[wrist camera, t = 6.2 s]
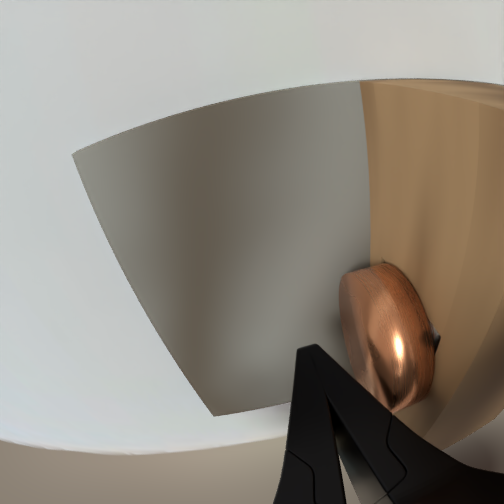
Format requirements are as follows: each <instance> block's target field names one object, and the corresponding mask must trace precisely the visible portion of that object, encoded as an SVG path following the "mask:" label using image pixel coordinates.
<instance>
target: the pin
mask: <svg viewBox="0 0 504 504" xmlns="http://www.w3.org/2000/svg"><path fill="white" fill-rule="evenodd" d="M339 310H340V318H341V324H342V330H343V335H344V340H345V344H346V348H347V352H348V356H349V359H350V363H351V366H352V369H353V372H354V375H355V378H356V380H357V381H358V382H359V383H360V384H361V385H362V386H363V387H364V388H365V389H366V390H367V391H369V392H370V393H371V394H372V395H373V396H374V397H375V398H376V399H377V400H378V401H379V402H381V403H382V404H383V405H384V406H385V407H386V408H387V409H388V410H389V411H390V412H392V413H395V412H397V411H400V410H402V409H405V408H407V407H409V406H412V405H414V404H416V403H419V402H421V401H423V400H424V399H425V398H426V396H427V395H428V393H429V391H430V389H431V386H432V382H433V376H434V356H435V353H436V351H437V348H438V345H439V343H440V340H441V336H440V335H439V333H438V332H437V330H436V329H435V328H434V326H433V325H432V323H431V322H430V320H429V319H428V317H427V316H426V315H425V312H424V309H423V307H422V304H421V302H420V300H419V298H418V296H417V294H416V292H415V291H414V289H413V287H412V286H411V284H410V283H409V281H408V280H407V279H406V277H405V276H404V275H403V274H402V273H401V272H400V271H399V270H398V269H397V268H395V267H394V266H392V265H390V264H387V263H382V264H378V265H375V266H371V267H368V268H364V269H361V270H357V271H354V272H350V273H346V274H344V275H343V276H342V278H341V280H340V284H339Z"/></svg>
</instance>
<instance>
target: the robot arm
mask: <svg viewBox="0 0 504 504" xmlns="http://www.w3.org/2000/svg"><path fill="white" fill-rule="evenodd" d="M338 454H339V455H338ZM339 456H340V458H341V460H342V463H343V465H344V467H345V469H346V472H347V474H348V476H349V478H350V481H351V483H352V485H353V487H354V489H355V492H356V494H357V496H358V498H359V501H360V503H361V504H504V474H503V473H498V472H492V471H487V470H482V469H477V468H473V467H470V466H467V465H465V464H463V463H461V462H459V461H457V460H456V459H454V458H452V457H450V456H449V455H447V454H446V453H444V452H443V451H441V450H440V449H438V448H437V447H435V446H434V445H432V444H431V443H429V442H427V441H426V440H425V439H423V438H422V437H420V436H419V435H418V434H416V433H415V432H414V431H412V430H411V429H410V428H409V427H408V426H406V425H405V424H404V423H403V422H402V421H401V420H399V419H398V418H397V417H396V416H395V415H392V412H390V411H389V410H388V409H387V408H386V407H385V406H384V405H383V404H382V403H381V402H379V401H378V400H377V399H376V398H375V397H374V396H373V395H372V394H371V393H370V392H369V391H367V390H366V389H365V388H364V387H363V386H362V385H361V384H360V383H359V382H358V381H357V380H356V379H354V378H353V377H352V376H351V375H350V374H349V373H348V372H347V371H346V370H345V369H344V368H343V367H342V366H340V365H339V364H338V363H337V362H336V361H335V360H334V359H333V358H332V357H331V356H330V355H329V354H328V353H327V352H326V351H324V350H323V349H322V348H321V347H320V346H319V345H318V344H316V343H314V344H311V345H307V346H304V347H300V348H298V349H297V351H296V361H295V371H294V381H293V391H292V400H291V409H290V417H289V425H288V433H287V441H286V451H285V455H284V462H283V468H282V473H281V478H280V482H279V485H278V489H277V492H276V496H275V499H274V502H273V504H346V497H345V491H344V484H343V479H342V472H341V466H340V461H339Z"/></svg>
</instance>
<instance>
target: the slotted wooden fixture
mask: <svg viewBox="0 0 504 504" xmlns="http://www.w3.org/2000/svg"><path fill="white" fill-rule="evenodd" d="M72 156H73V159H74V162H75V164H76V167H77V170H78V172H79V175H80V177H81V180H82V183H83V185H84V188H85V190H86V192H87V195H88V197H89V200H90V202H91V204H92V207H93V209H94V211H95V214H96V216H97V218H98V220H99V223H100V225H101V227H102V229H103V231H104V233H105V236H106V238H107V240H108V242H109V244H110V246H111V248H112V250H113V252H114V254H115V256H116V258H117V260H118V262H119V264H120V266H121V268H122V270H123V272H124V274H125V276H126V278H127V280H128V282H129V283H130V285H131V287H132V289H133V291H134V293H135V295H136V296H137V298H138V300H139V302H140V304H141V305H142V307H143V309H144V311H145V312H146V314H147V316H148V318H149V319H150V321H151V323H152V324H153V326H154V328H155V329H156V331H157V333H158V334H159V336H160V338H161V339H162V341H163V343H164V344H165V346H166V347H167V349H168V351H169V352H170V354H171V355H172V357H173V358H174V360H175V362H176V363H177V365H178V366H179V368H180V369H181V371H182V372H183V374H184V375H185V377H186V378H187V380H188V381H189V383H190V384H191V385H192V387H193V388H194V390H195V391H196V393H197V394H198V396H199V397H200V398H201V400H202V401H203V403H204V404H205V405H206V407H207V408H208V409H209V411H210V412H211V413H212V415H213V416H221V415H228V414H234V413H239V412H245V411H250V410H255V409H260V408H265V407H270V406H275V405H279V404H284V403H288V402H291V400H292V391H293V381H294V371H295V361H296V351H297V349H298V348H300V347H304V346H307V345H311V344H314V343H316V344H318V345H319V346H320V347H321V348H322V349H323V350H324V351H326V352H327V353H328V354H329V355H330V356H331V357H332V358H333V359H334V360H335V361H336V362H337V363H338V364H339V365H340V366H342V367H343V368H344V369H345V370H346V371H347V372H348V373H349V374H350V375H351V376H352V377H353V378H354V379H356V378H355V375H354V372H353V369H352V366H351V363H350V359H349V356H348V352H347V348H346V344H345V340H344V335H343V330H342V324H341V318H340V310H339V284H340V280H341V278H342V276H343V275H344V274H346V273H350V272H354V271H357V270H361V269H364V268H368V267H371V266H375V265H378V264H382V263H387V264H390V265H392V266H394V267H395V268H397V269H398V270H399V271H400V272H401V273H402V274H403V275H404V276H405V277H406V279H407V280H408V281H409V283H410V284H411V286H412V287H413V289H414V291H415V292H416V294H417V296H418V298H419V300H420V302H421V304H422V307H423V309H424V312H425V315H426V316H427V317H428V319H429V320H430V322H431V323H432V325H433V326H434V328H435V329H436V330H437V332H438V333H439V335H440V336H441V340H440V343H439V345H438V348H437V351H436V353H435V356H434V376H433V382H432V386H431V389H430V391H429V393H428V395H427V396H426V398H425V399H424V400H423V401H421V402H419V403H416V404H414V405H412V406H409V407H407V408H405V409H402V410H400V411H397V412H395V413H392V415H395V416H396V417H397V418H398V419H399V420H401V421H402V422H403V423H404V424H405V425H406V426H408V427H409V428H410V429H411V430H412V431H414V432H415V433H416V434H418V435H419V436H420V437H422V438H423V439H425V440H426V441H427V442H429V443H431V444H432V445H434V446H435V447H437V448H438V449H440V450H441V451H442V450H443V449H445V448H447V447H449V446H451V445H453V444H455V443H456V442H458V441H460V440H461V439H463V438H465V437H467V436H468V435H470V434H472V433H473V432H475V431H476V430H478V429H480V428H481V427H483V426H484V425H486V424H487V423H489V422H490V421H492V420H493V419H495V418H496V417H497V415H498V414H499V413H500V412H501V411H502V410H503V409H504V85H500V84H492V83H484V82H474V81H463V80H447V79H375V80H358V81H346V82H335V83H326V84H317V85H309V86H302V87H295V88H289V89H283V90H277V91H271V92H266V93H260V94H255V95H250V96H246V97H241V98H236V99H232V100H228V101H223V102H219V103H215V104H211V105H207V106H204V107H200V108H196V109H193V110H189V111H186V112H182V113H179V114H175V115H172V116H169V117H166V118H163V119H159V120H156V121H153V122H150V123H147V124H144V125H142V126H139V127H136V128H133V129H130V130H128V131H125V132H122V133H120V134H117V135H114V136H112V137H109V138H107V139H104V140H102V141H99V142H97V143H94V144H92V145H90V146H87V147H85V148H83V149H80V150H78V151H76V152H75V153H73V154H72Z"/></svg>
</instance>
